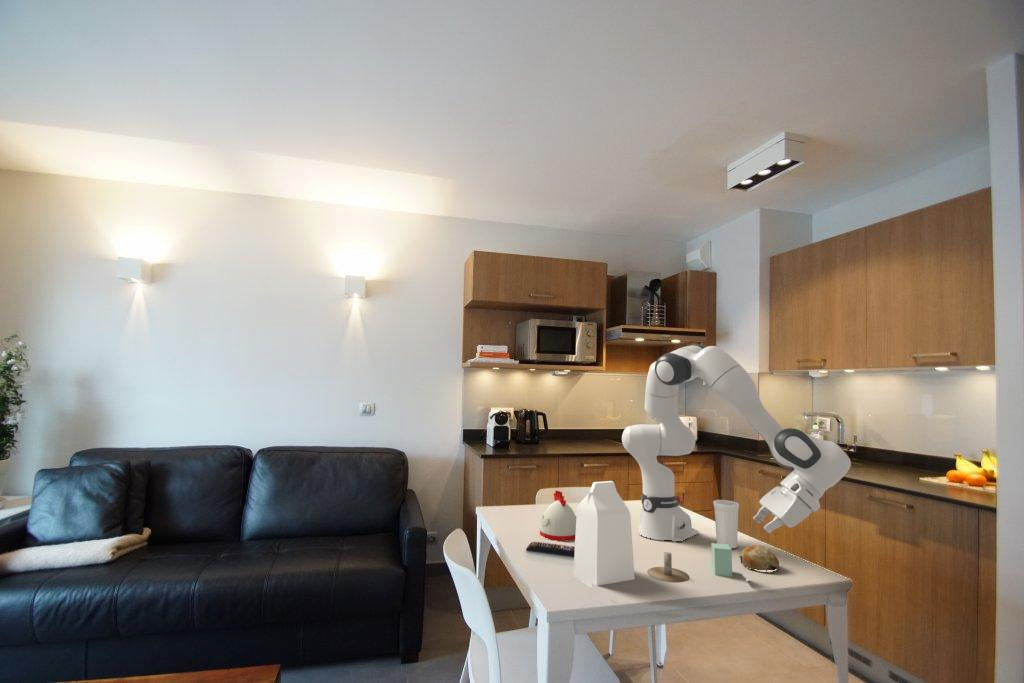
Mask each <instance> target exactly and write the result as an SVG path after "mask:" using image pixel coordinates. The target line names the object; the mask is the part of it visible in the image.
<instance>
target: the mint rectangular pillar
mask: <svg viewBox="0 0 1024 683" xmlns="http://www.w3.org/2000/svg"><path fill="white" fill-rule="evenodd" d="M710 545H711V548H710V549H711V570H712V572H713V574H714V575H715V576H721V577H731V578H732V577H733V553H732V552H733V550H732V549H733V548H730V547H729V545H728V544H717V542H716V543H715V542H711V543H710Z"/></svg>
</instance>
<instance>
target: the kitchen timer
mask: <svg viewBox="0 0 1024 683" xmlns="http://www.w3.org/2000/svg"><path fill="white" fill-rule="evenodd" d="M553 498H554V501H553V502H551V504H549V506H548V507H547V508H546V510H545V511H544V513H543V514H541V516H540V527H539V536H540V535H541V536H543V537H545V538H548V539H547V540H549V539H552V540H551V541H554V540H559V541H558V542H568V541H567V540H571V541H575V540H574V539H575V534H576V516H577V515H576V514H575V512H574V510H573V508H572V507H571V506H570V505H569V504H568V503H567V501H566V500H565V496H564V495H563V492H562V491H561V490H560V491H559V490H555V492H554V493H553ZM541 536H540V537H541ZM543 537H542V538H543ZM545 538H544V539H545ZM562 540H563V541H562Z"/></svg>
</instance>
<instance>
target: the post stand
mask: <svg viewBox="0 0 1024 683" xmlns="http://www.w3.org/2000/svg"><path fill="white" fill-rule="evenodd" d="M672 562H673V559H672V553H671V552H668V551H665V552H663V566H655V567H649V569H648V570H646V573H647V575H648V576H649V577H651V578H652V579H654V580H658V581H661V582H666V583H675V584H676V583H685V582H686V581H688V580H690V575H689V574H688V573H687V572H685V571H682V570H681V569H677V568H674V567H673V566H672V565H673V564H672Z"/></svg>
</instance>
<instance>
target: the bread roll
mask: <svg viewBox="0 0 1024 683" xmlns="http://www.w3.org/2000/svg"><path fill="white" fill-rule="evenodd" d="M738 558H739V559H740V563H741V564H742V563H743V565H744V566H746V567H748V568H751V569H757V570H766V571H767V570H775V569H778V568H779V569H780V561H779V558H778V557H777V556H776V554H775V553H774V552H773V551H772V550H771V549H770V548H769V547H765V546H763V545H758V544H755V545H754V544H752V545H749V546H746V547H745V548H743V550H741V553H739V554H738ZM743 565H742V566H743ZM744 566H743V567H744ZM746 567H745V568H746ZM779 569H778V570H779Z"/></svg>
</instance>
